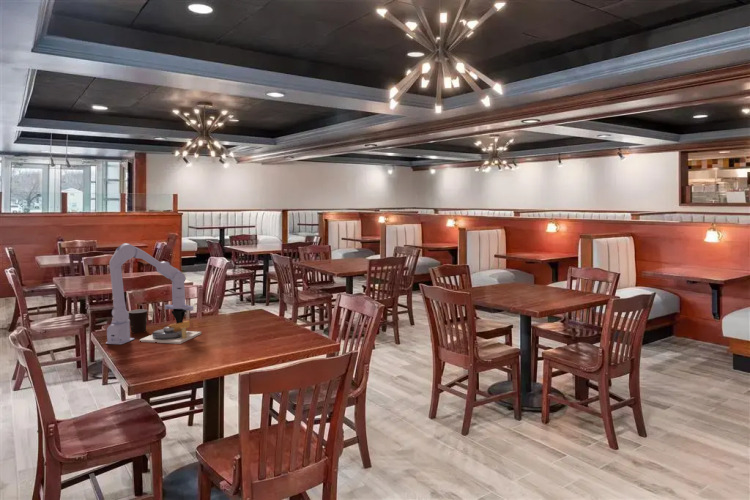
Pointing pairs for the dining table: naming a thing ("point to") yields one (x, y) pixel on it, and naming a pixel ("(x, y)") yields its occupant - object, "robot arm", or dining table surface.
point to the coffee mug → (138, 320)
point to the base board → (185, 336)
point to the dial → (171, 331)
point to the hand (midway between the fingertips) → (179, 324)
